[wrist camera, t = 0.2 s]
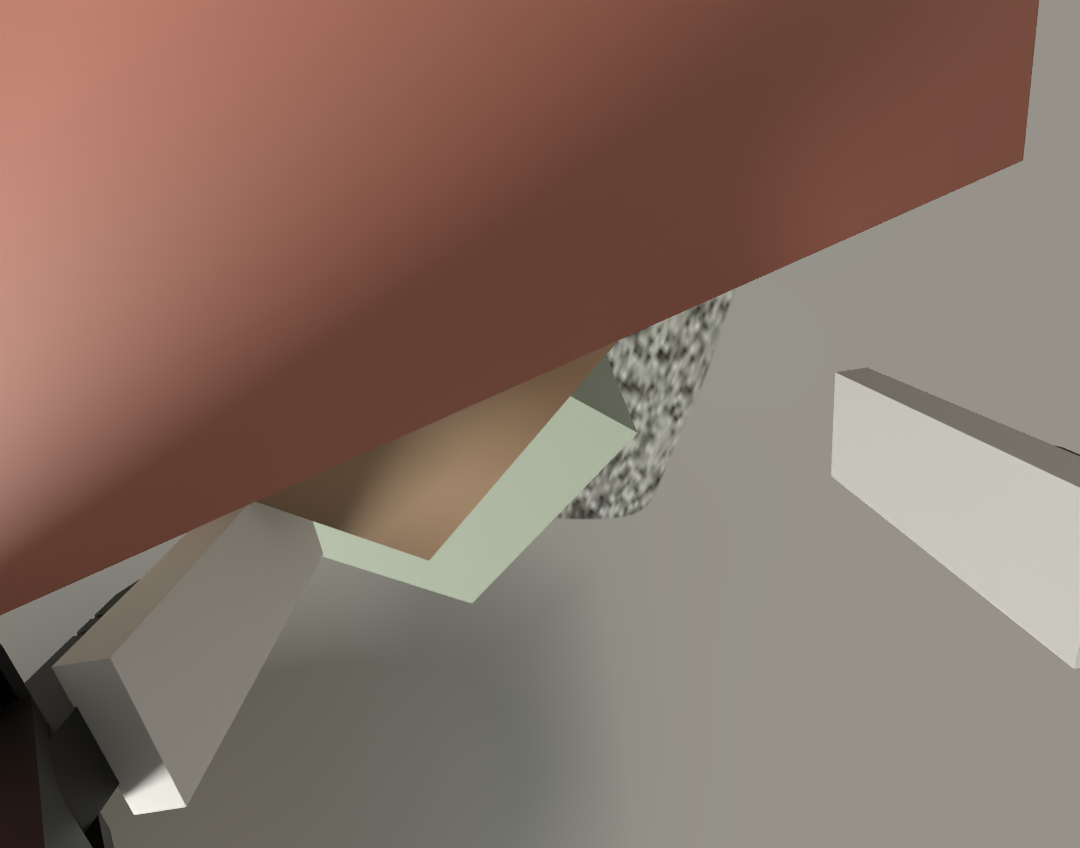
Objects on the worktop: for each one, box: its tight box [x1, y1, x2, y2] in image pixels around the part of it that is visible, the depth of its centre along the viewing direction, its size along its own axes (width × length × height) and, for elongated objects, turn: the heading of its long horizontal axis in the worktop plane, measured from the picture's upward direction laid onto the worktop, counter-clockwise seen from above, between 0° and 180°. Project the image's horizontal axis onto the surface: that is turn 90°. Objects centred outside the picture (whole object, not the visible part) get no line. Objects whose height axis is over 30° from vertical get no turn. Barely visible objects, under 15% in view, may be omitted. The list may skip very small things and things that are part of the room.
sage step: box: [313, 355, 637, 603], centre depth 33 cm, size 14×12×19 cm
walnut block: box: [256, 341, 617, 561], centre depth 19 cm, size 12×14×30 cm
